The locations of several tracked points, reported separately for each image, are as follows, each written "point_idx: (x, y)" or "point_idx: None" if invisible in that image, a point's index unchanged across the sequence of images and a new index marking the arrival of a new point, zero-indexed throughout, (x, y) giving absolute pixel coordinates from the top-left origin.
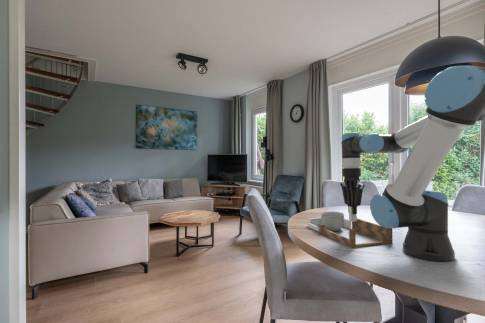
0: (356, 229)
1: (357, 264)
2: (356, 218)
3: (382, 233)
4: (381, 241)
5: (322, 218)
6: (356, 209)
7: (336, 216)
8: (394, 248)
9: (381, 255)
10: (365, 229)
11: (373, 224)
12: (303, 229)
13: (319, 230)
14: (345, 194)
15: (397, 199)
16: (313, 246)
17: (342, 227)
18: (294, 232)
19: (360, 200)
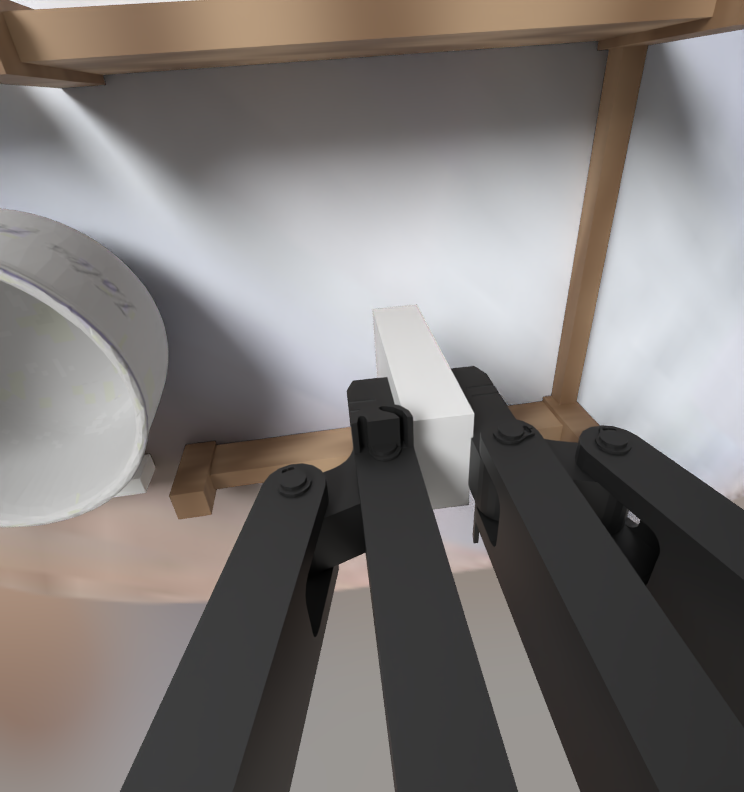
0: (131, 71)
1: (719, 490)
2: (423, 318)
3: (588, 34)
4: (615, 142)
5: (42, 493)
6: (504, 411)
7: None
8: (724, 114)
9: (733, 323)
10: (299, 55)
11: (471, 33)
12: (81, 537)
13: (147, 462)
14: (291, 766)
15: None
16: (456, 570)
17: (128, 267)
18: (172, 597)
19: (723, 519)
